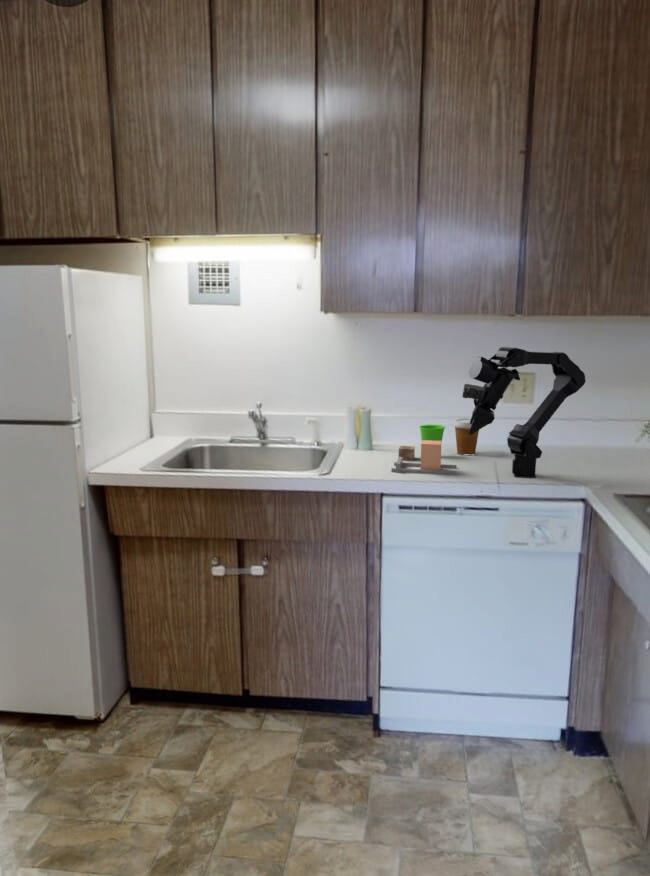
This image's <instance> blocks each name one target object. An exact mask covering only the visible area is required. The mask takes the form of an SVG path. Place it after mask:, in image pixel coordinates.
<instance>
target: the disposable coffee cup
mask: <svg viewBox="0 0 650 876" xmlns="http://www.w3.org/2000/svg"><path fill="white" fill-rule="evenodd" d="M470 420H471V418H457V419H455V420H454V423H453V426H454V429H455V430H454V432H455V441H456V442H455V443H456V453H457V454H458V453H459V454H458V455H460V454H474V455H475V454H476V449H477V444H478V438H479V431H480V430H478V431H477V432H475V433H474V434H472V435H471V434H469V430H470V427H471V425H472V424H470Z"/></svg>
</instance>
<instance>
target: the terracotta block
mask: <svg viewBox="0 0 650 876" xmlns="http://www.w3.org/2000/svg"><path fill="white" fill-rule="evenodd" d="M441 461H442V443H441V441H430V440H422V439H421V443H420V463H421V467H420V469H423V470H442V468H441V464H442V462H441Z"/></svg>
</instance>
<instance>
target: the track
mask: <svg viewBox="0 0 650 876" xmlns="http://www.w3.org/2000/svg"><path fill="white" fill-rule="evenodd" d="M393 465H394V466H395V467H391V469H390V471H391V473H408V474H409V473H410V474H427V475H428V474H431V475H449V476H450V475H451V476H452V475H453V476H456V475H457V470H455V469H457V468H458V467H457V464H447V463H446V464H444V463H441V469H440V470H423V469H421V462H404V460H403V457H399V456H398V458H397V461H395V462H393ZM403 467H408V468H403ZM411 467H413V468H411ZM414 467H415V468H414ZM416 468H417V469H416ZM419 468H420V469H419ZM442 469H443V470H442ZM444 469H454V470H444Z"/></svg>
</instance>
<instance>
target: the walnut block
mask: <svg viewBox="0 0 650 876" xmlns="http://www.w3.org/2000/svg"><path fill="white" fill-rule="evenodd" d="M415 449H416V448H415V446H414V445H413V446H412V445H410V446H409V445H400V446H399V447H398V458H399V457H403V461H412V462H413V461H414V460H415Z"/></svg>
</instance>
